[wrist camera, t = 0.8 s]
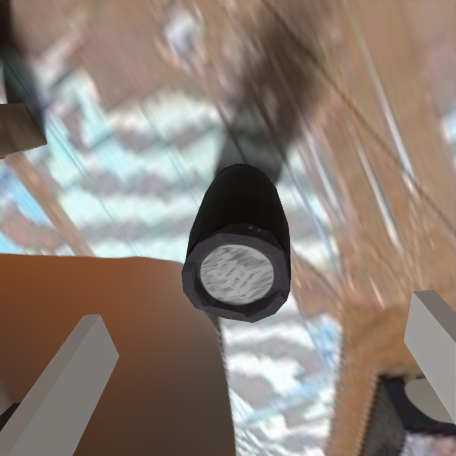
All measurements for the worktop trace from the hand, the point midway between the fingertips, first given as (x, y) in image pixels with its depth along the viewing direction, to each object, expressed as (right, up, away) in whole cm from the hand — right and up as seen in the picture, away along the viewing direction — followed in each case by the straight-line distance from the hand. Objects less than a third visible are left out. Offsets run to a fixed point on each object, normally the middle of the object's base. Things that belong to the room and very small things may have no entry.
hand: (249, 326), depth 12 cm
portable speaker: (+1, +9, +25) cm, 26 cm away
